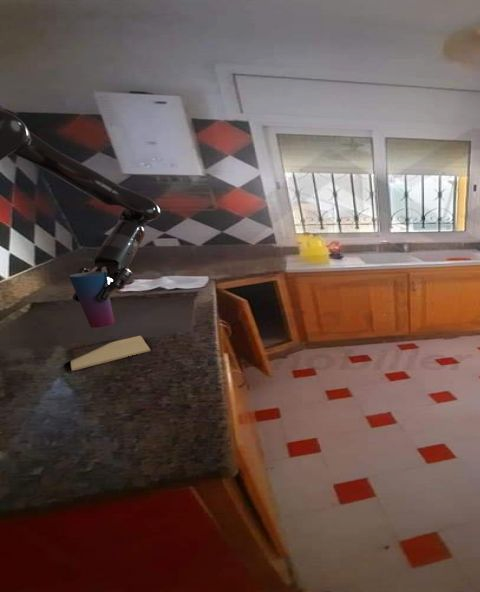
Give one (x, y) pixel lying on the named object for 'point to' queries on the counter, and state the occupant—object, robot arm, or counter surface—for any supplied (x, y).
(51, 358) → the counter surface
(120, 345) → the mat
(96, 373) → the counter surface
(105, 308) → the cup
